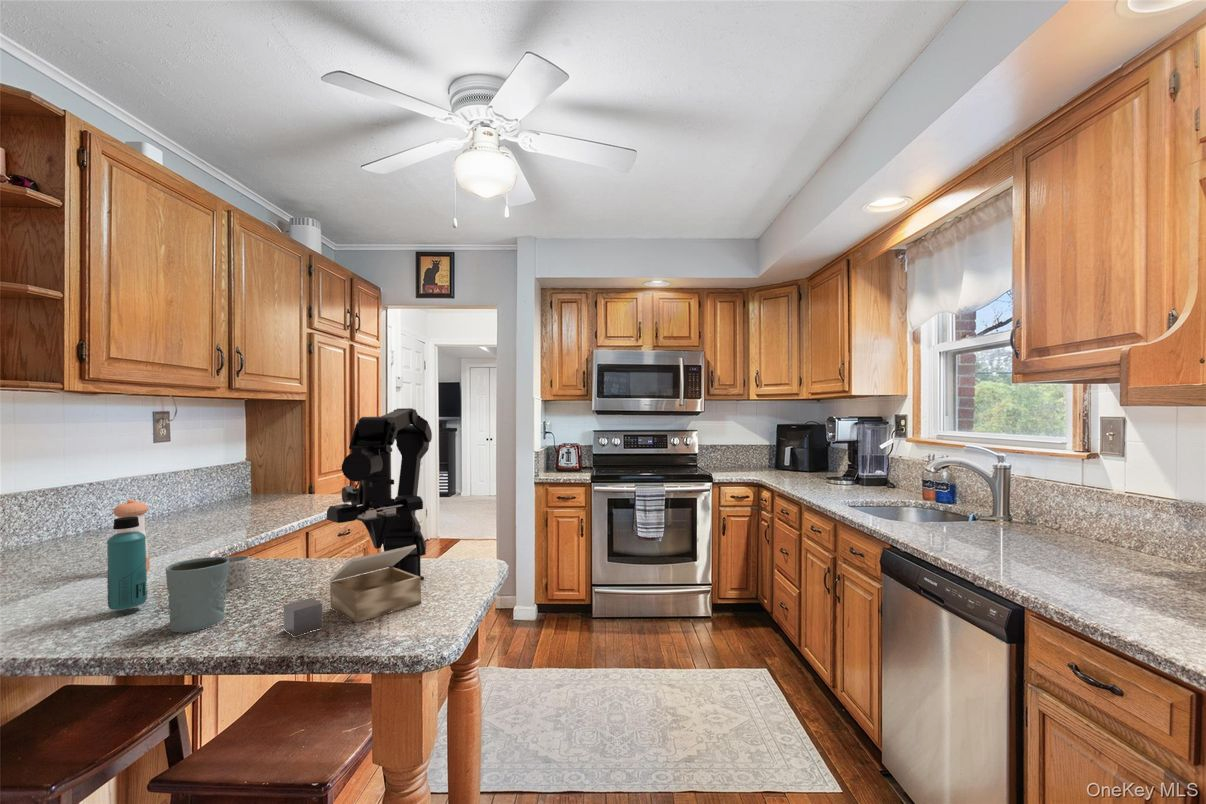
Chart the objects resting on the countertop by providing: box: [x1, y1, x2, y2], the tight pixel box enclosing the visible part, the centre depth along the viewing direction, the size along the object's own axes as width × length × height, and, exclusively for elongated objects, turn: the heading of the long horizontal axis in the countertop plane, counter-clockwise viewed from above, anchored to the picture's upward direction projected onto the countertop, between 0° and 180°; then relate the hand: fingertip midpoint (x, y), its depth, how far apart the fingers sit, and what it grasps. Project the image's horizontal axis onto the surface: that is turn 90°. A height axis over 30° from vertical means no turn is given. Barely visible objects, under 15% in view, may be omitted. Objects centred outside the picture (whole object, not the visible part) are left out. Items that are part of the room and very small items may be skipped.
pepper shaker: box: [113, 498, 150, 572], centre depth 144 cm, size 7×7×19 cm
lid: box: [329, 545, 416, 582], centre depth 117 cm, size 14×12×1 cm
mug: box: [225, 554, 251, 592], centre depth 129 cm, size 10×7×7 cm, turn 168°
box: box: [329, 567, 422, 624], centre depth 116 cm, size 14×12×6 cm
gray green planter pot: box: [165, 556, 229, 634], centre depth 108 cm, size 10×10×12 cm
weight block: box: [283, 597, 323, 637], centre depth 104 cm, size 5×5×5 cm
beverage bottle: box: [106, 516, 149, 611], centre depth 115 cm, size 6×7×20 cm
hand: (377, 548), depth 116 cm, fingers closed
